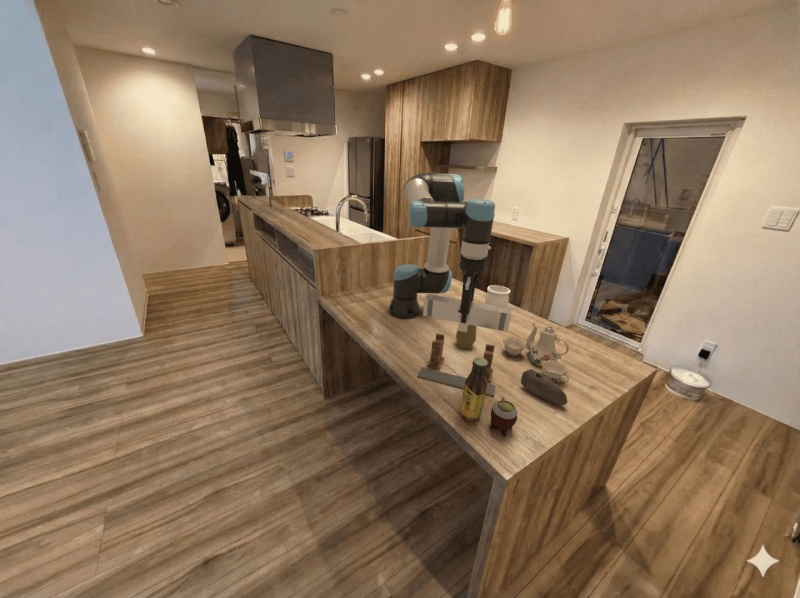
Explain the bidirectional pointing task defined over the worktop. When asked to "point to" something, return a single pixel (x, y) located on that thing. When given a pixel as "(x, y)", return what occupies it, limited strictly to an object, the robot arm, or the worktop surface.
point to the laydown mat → (449, 379)
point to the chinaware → (541, 351)
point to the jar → (497, 296)
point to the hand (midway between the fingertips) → (463, 327)
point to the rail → (478, 314)
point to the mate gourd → (503, 416)
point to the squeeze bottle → (466, 337)
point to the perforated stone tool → (543, 387)
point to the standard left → (437, 352)
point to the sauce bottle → (474, 390)
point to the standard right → (489, 361)
